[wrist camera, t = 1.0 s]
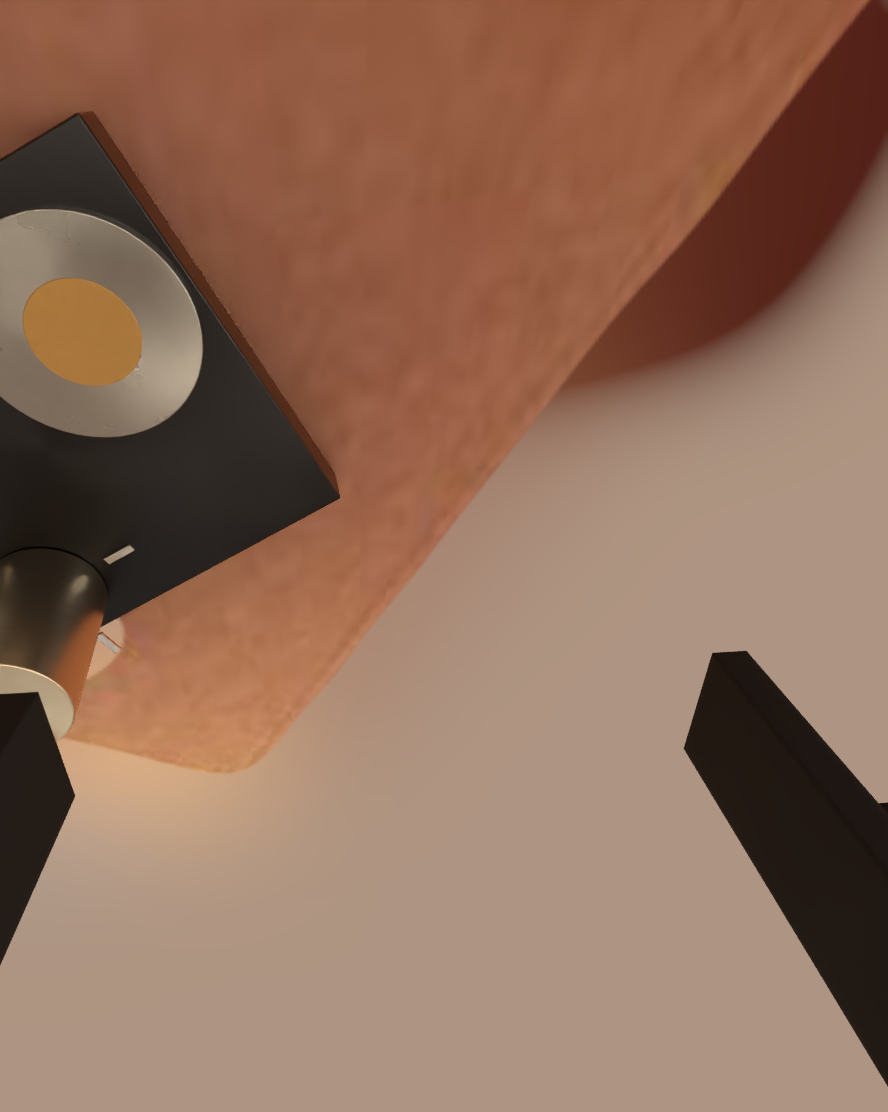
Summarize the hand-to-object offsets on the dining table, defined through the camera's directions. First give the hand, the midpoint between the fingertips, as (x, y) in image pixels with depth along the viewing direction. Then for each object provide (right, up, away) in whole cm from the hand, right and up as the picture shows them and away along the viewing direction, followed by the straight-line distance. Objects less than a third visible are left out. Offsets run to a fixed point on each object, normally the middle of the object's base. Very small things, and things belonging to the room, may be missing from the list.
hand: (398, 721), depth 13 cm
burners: (-16, +10, +12) cm, 23 cm away
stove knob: (-18, +2, +17) cm, 25 cm away
